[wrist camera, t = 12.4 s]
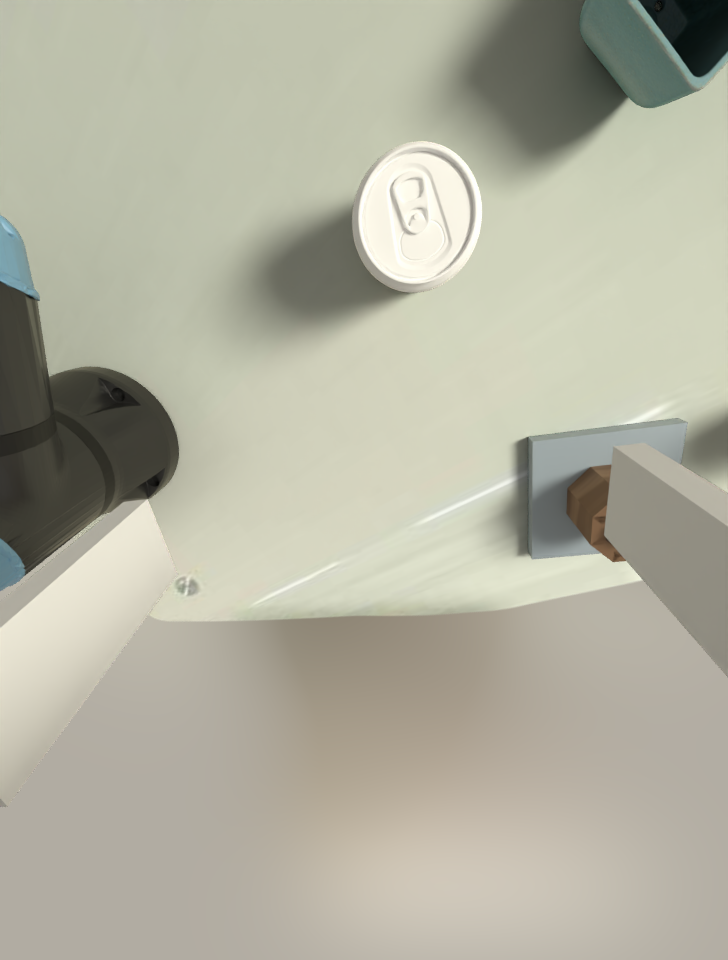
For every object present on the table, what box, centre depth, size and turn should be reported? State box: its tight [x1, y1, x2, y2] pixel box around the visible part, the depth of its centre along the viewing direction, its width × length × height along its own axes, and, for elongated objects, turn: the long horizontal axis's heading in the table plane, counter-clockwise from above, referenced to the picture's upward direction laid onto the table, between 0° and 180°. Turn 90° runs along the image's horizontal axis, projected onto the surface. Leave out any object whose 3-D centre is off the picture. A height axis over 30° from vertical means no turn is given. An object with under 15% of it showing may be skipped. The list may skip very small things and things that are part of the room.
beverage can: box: [352, 141, 482, 293], centre depth 30 cm, size 8×8×12 cm
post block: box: [528, 418, 688, 559], centre depth 40 cm, size 14×14×9 cm
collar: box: [566, 464, 626, 562], centre depth 40 cm, size 7×7×6 cm
